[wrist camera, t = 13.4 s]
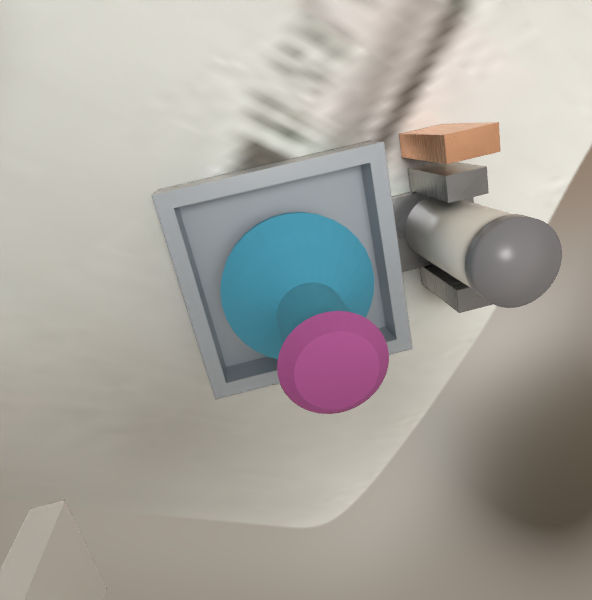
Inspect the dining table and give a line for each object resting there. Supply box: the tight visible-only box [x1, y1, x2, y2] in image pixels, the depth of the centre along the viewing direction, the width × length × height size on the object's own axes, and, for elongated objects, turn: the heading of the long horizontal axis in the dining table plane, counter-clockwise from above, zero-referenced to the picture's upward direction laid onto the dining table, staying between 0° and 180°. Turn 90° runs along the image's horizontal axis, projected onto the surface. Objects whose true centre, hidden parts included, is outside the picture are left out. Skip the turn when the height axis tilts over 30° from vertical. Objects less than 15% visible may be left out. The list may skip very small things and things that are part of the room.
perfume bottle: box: [220, 212, 389, 414], centre depth 26 cm, size 9×9×15 cm
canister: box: [405, 197, 562, 308], centre depth 29 cm, size 5×5×10 cm
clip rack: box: [392, 122, 500, 313], centre depth 27 cm, size 6×31×7 cm, turn 12°
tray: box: [152, 141, 412, 399], centre depth 32 cm, size 14×14×3 cm
